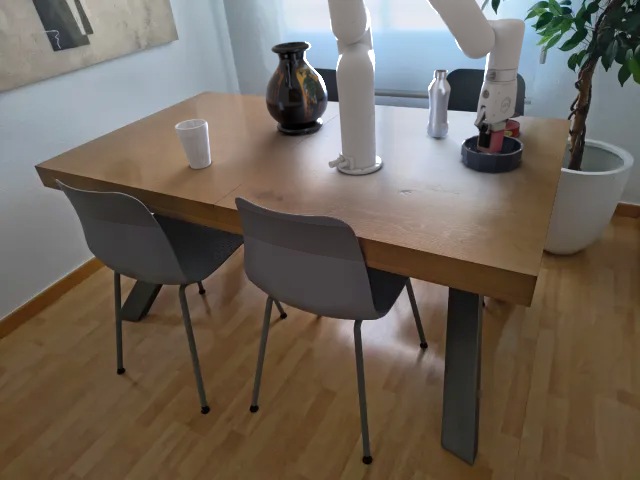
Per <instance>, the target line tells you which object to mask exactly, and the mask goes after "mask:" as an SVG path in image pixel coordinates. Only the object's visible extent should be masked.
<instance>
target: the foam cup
mask: <svg viewBox="0 0 640 480" xmlns="http://www.w3.org/2000/svg"><path fill="white" fill-rule="evenodd" d="M174 131H175V134H176V136H177V138H178V141H179V142H180V144H181V145H180V146H181V147H182V149H183V152H184V154H185V158H186V160H187V162H188V164H189V166H190V168H191V169H194V170H198V169H204V168H207V167H209V166H210V165H211V163H212V162H211V161H212V159H211V150H210V149H211V148H210V139H209V138H210V137H209V125H208V121H207V120H206V119H202V118H193V119H187V120H183V121H180V122H178V123H176V124H175V125H174Z"/></svg>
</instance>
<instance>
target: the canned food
mask: <svg viewBox="0 0 640 480" xmlns="http://www.w3.org/2000/svg"><path fill="white" fill-rule="evenodd" d="M520 117H521V114H520V113H518V112H517V111H516V112H515V111H514V115H513V116H512V117H510V118H509V119H508V121H507V122H506V127H505V131H504V135H505V136H509V137H513V138H516V137H518V136H519V134H520V128H521V122H520V121H518V120H516V119H517V118H520Z"/></svg>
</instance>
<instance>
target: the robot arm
mask: <svg viewBox="0 0 640 480" xmlns="http://www.w3.org/2000/svg"><path fill="white" fill-rule="evenodd" d="M365 2H366V1H365V0H327V6H328V11H329V18H330V19H329V22H330V29H331V33H332V34H333V35H334V37H335V41H336V46H337V52H338V61H337V63H336V69H335V70H336V71H335V78H336V88H337V96H338V110H339V112H338V113H339V124H340V139H341V140H340V141H341V152H339V153H338V157H337V158H336V159H332V160H330V161H328V167H329V168H330V169H334V168H336V167H337V169H338V171H340V172H342V173H344V174H348V175H365V174H371V173H373V172H376V171H378V170H379V169H380V168H381V167H382V165H383V163H382V159H381V158H380V157H379V156H377V153H376V152H377V150H376V149H377V147H376V146H377V143H376V142H377V141H376V136H377V135H376V98H375V97H376V95H375V93H376V91H375V75H376V73H375V72H376V71H375V67H376V65H375V64H376V62H375V52H374V41H373V35H372V34H373V33H372V26H371V25H372V23H371V17H370V16H371V15H370V12H369V8H368V6H367V4H366V3H365ZM426 2H427V3H428V4H429V5H430V7H431V9H432V10H433V11H435V13H436V14H437V15H438V16H439V17H440V19H441V20H442V22H443V23H444V24H445V26H446V27H447V29H448V31H449V32H450V34H451V36H452V37H453V38H454V40H455V42H456V45H457V47H458V48H459V49H460V51H461V53H463V55H464V56H465V57H467V58H468V59H472V60H480V59H482V58H485V57H486V63H485V70H484V76H483V83H482V86H481V90H480V92H479V99H478V103H477V110H476V119H475V121H474V123H473V126H475V127H476V128H477V130H478V135H479V141H478V146H481V147H484V148H489V145H490V139H491V134H490V130H491V127H492V124H495V123H498V122H500V121H501V122H504V123H506V122H507V121H508V119H511V118H510V117H512V116H513V115H514V112H515V111H516V110H515V109H516V103H517V94H518V78H517V76H518V71H519V66H520V60H521V53H522V48H523V43H524V36H525V31H526V23H525V21H524V20H523V19H520V18H501V19H500V18H499V19H496V20H495V19H487V17H486V15H485V14H484V12H483V10H482V9H481V7H480V5H479V4H478V3H477V1H476V0H426ZM485 123H486V124H488V125H487V127H486V126H485ZM505 127H506V126H505ZM479 132H480V134H479Z"/></svg>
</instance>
